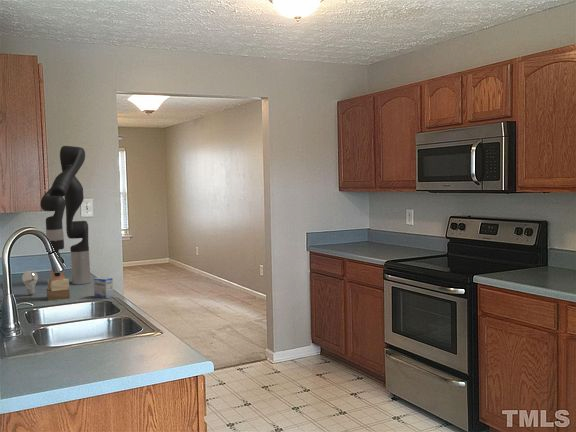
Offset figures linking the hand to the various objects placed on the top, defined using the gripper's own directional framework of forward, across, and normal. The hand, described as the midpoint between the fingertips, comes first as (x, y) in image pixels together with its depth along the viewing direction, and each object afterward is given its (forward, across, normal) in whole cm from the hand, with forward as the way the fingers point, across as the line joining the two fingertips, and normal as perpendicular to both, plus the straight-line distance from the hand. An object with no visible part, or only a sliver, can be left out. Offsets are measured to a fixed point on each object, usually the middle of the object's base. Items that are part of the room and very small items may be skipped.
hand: (56, 275), depth 256 cm
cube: (+2, 0, 0) cm, 2 cm away
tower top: (+6, 0, 0) cm, 6 cm away
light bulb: (+11, -15, -11) cm, 21 cm away
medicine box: (+11, +10, +19) cm, 24 cm away
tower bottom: (+11, 0, 0) cm, 11 cm away
